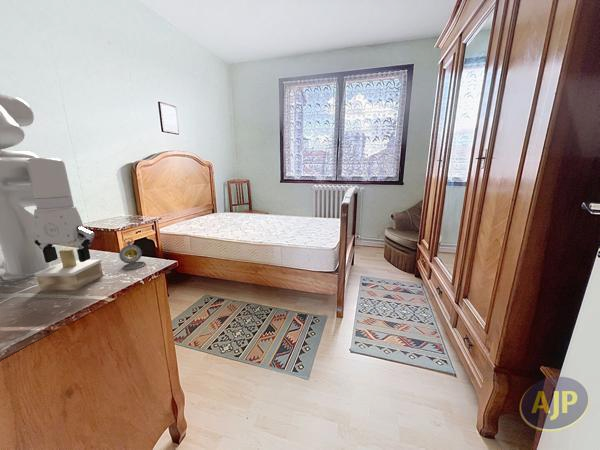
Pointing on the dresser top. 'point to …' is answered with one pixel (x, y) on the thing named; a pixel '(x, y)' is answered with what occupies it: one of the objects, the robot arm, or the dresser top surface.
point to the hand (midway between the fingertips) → (68, 260)
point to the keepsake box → (70, 279)
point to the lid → (67, 265)
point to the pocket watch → (129, 252)
